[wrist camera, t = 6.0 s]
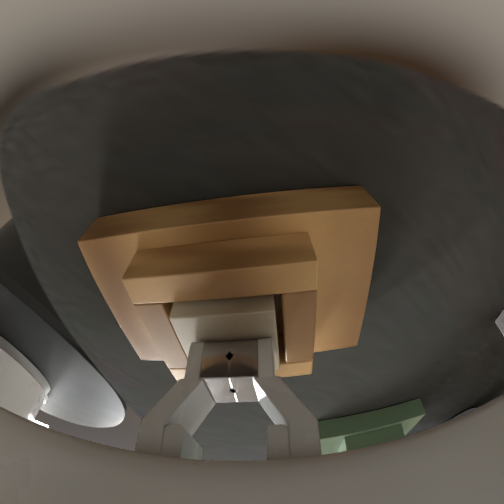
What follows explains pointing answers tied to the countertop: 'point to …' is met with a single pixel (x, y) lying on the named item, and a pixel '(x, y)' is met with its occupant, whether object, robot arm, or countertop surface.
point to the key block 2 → (369, 427)
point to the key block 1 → (241, 267)
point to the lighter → (500, 322)
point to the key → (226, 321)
